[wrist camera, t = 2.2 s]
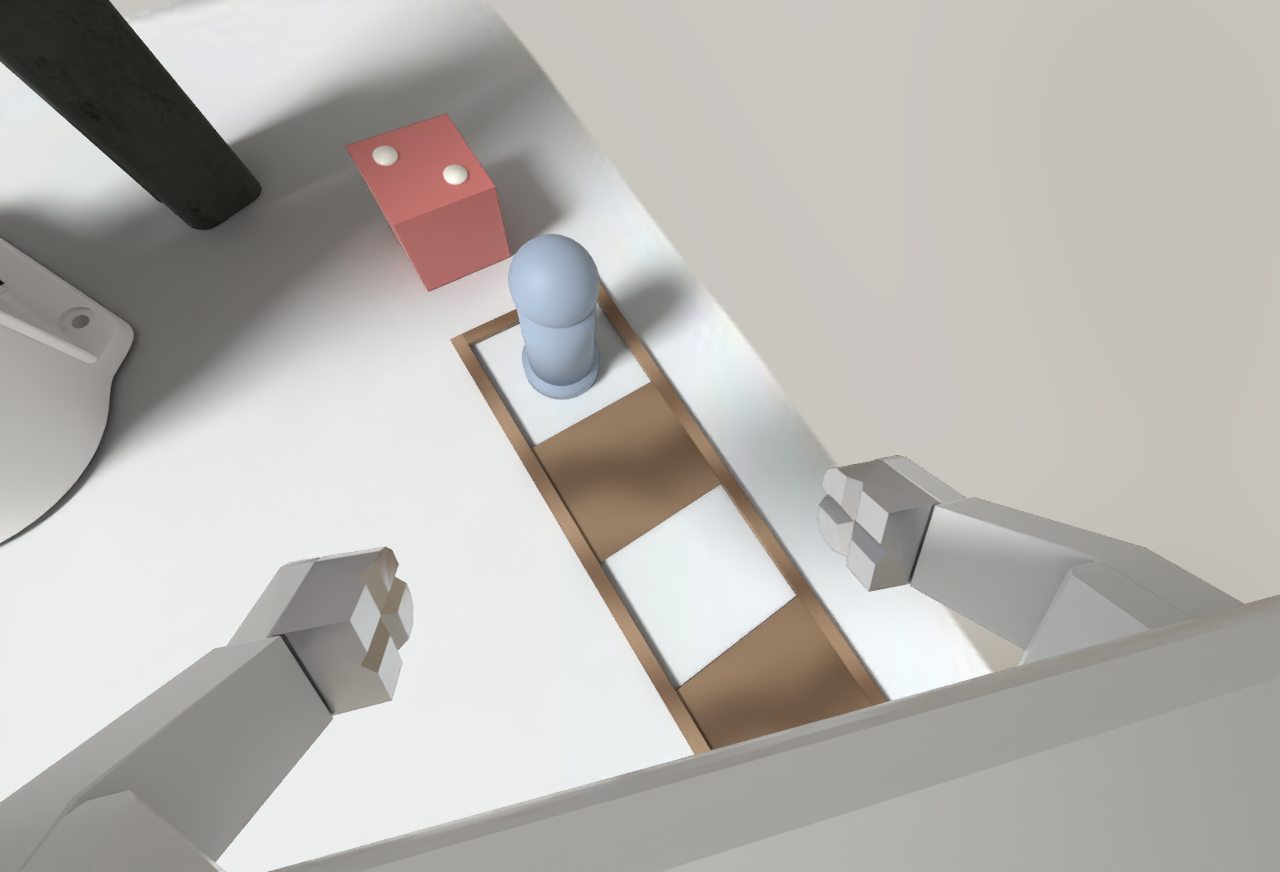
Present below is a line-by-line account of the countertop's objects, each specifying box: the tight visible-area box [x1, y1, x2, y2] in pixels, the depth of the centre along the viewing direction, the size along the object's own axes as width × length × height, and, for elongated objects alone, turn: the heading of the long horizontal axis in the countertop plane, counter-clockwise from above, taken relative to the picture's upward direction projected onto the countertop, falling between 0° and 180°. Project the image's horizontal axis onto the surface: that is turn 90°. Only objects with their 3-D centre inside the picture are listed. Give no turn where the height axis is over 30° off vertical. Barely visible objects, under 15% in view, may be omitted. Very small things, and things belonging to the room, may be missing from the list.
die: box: [346, 114, 511, 292], centre depth 28 cm, size 6×6×6 cm
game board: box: [450, 282, 887, 755], centre depth 27 cm, size 34×11×1 cm, turn 33°
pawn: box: [508, 234, 600, 399], centre depth 24 cm, size 5×5×11 cm
